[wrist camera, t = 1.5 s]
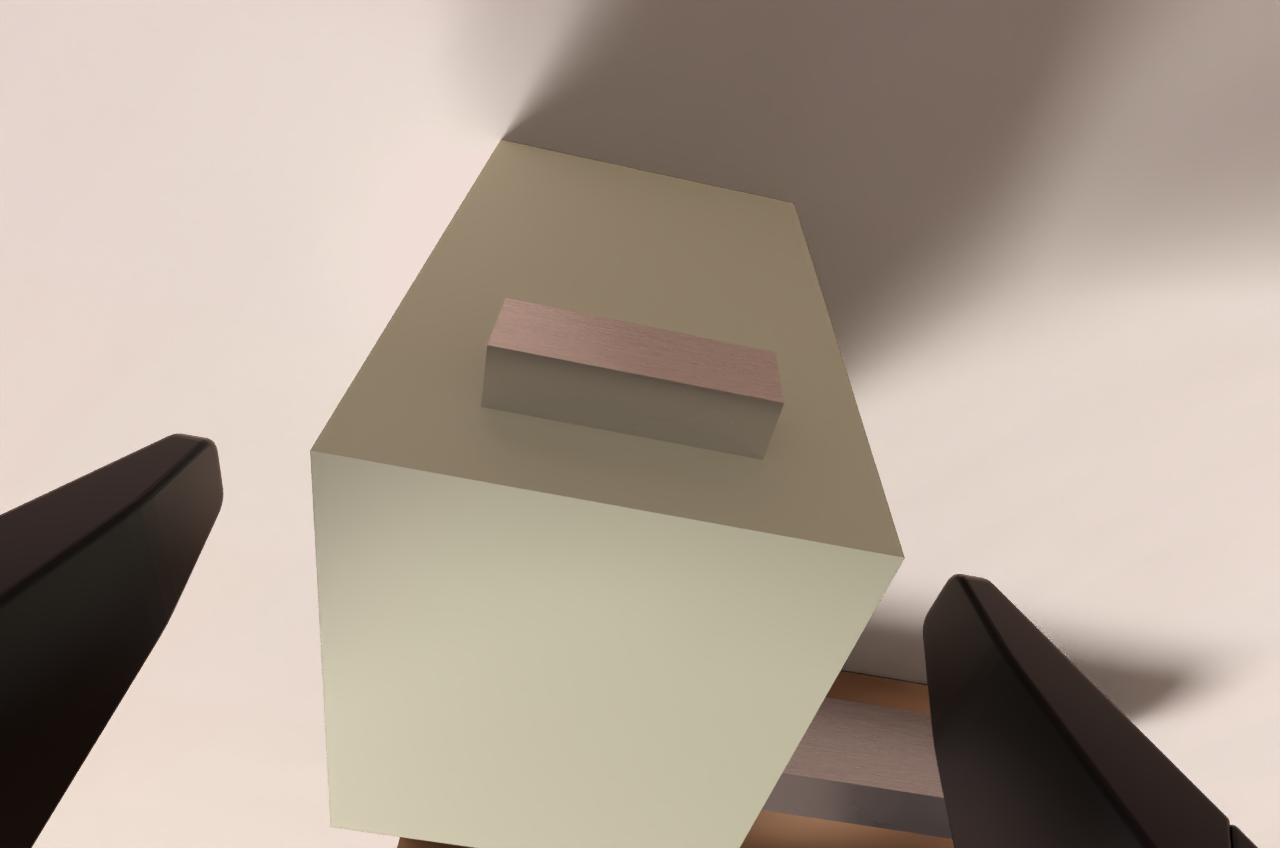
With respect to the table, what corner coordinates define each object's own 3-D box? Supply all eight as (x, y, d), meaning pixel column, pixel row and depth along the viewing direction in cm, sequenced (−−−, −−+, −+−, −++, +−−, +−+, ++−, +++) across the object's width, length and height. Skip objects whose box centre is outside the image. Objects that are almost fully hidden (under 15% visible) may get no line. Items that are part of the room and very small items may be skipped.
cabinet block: (806, 164, 12) (937, 500, 6) (705, 473, 15) (719, 882, 9) (505, 97, 11) (306, 381, 5) (472, 430, 15) (330, 826, 9)
